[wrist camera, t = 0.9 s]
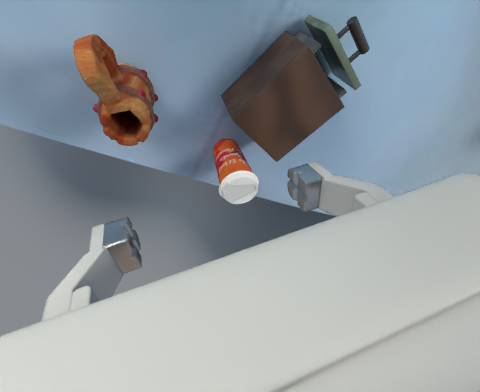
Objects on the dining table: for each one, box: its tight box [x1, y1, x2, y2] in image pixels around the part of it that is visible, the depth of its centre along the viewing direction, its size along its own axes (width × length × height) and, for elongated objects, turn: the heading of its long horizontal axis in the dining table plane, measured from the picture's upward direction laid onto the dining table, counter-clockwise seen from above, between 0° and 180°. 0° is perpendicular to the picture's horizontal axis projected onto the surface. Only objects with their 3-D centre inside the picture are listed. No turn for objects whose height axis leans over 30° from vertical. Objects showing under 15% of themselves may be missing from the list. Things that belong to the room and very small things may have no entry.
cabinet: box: [221, 31, 344, 162], centre depth 49 cm, size 16×14×10 cm
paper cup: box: [214, 139, 259, 204], centre depth 55 cm, size 8×8×14 cm
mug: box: [74, 34, 158, 146], centre depth 39 cm, size 15×8×15 cm, turn 12°
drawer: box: [295, 15, 369, 98], centre depth 47 cm, size 19×12×8 cm, turn 130°
